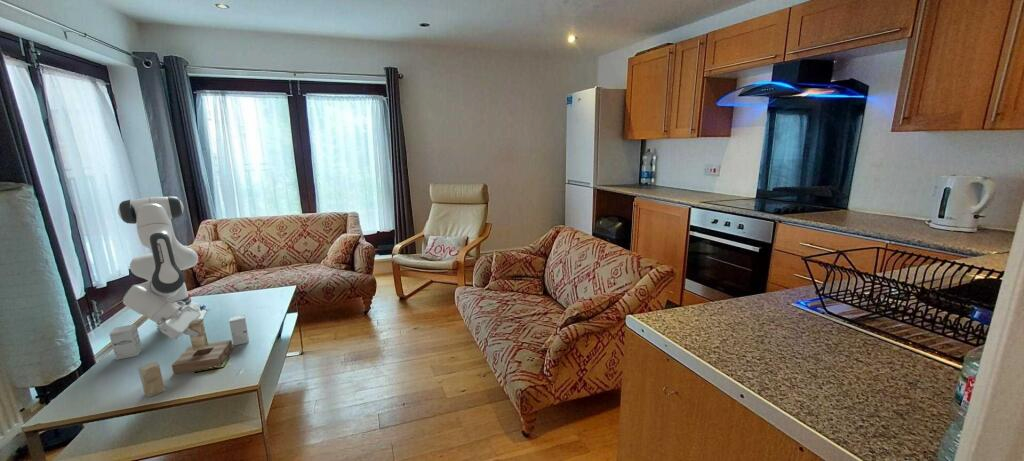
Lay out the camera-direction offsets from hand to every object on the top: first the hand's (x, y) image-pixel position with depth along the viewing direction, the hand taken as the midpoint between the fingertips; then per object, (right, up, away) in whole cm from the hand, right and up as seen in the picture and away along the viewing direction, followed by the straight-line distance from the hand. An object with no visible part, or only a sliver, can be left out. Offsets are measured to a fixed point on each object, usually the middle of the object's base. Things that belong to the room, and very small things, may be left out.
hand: (200, 332), depth 171 cm
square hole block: (0, -13, +3) cm, 13 cm away
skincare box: (+5, -9, +18) cm, 21 cm away
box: (-3, -18, -18) cm, 26 cm away
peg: (-1, -7, +1) cm, 7 cm away
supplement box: (-39, -13, +10) cm, 42 cm away
